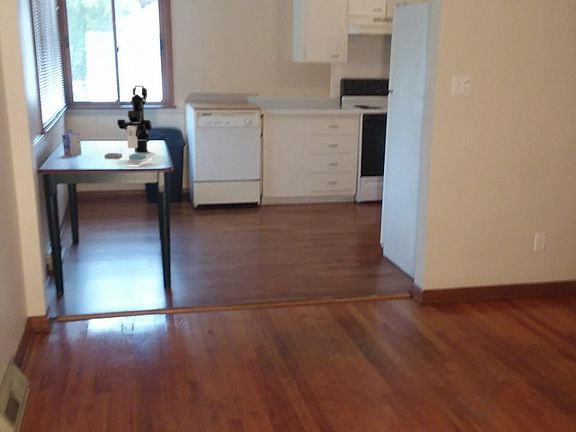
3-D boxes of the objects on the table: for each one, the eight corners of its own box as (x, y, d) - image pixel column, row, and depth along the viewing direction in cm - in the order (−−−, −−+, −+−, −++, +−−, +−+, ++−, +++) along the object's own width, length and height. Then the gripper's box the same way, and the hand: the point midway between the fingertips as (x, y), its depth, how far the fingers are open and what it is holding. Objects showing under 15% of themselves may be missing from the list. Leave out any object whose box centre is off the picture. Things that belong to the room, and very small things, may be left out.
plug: (129, 147, 351) (129, 125, 348) (137, 147, 350) (136, 126, 347) (127, 148, 346) (126, 126, 343) (135, 148, 346) (134, 126, 343)
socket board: (101, 160, 345) (100, 155, 345) (108, 157, 357) (108, 152, 356) (143, 161, 344) (143, 156, 344) (149, 158, 356) (149, 153, 355)
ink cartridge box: (74, 153, 370) (72, 129, 367) (81, 153, 369) (80, 129, 365) (63, 155, 361) (61, 130, 358) (71, 156, 360) (69, 131, 356)
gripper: (117, 104, 348) (111, 126, 340) (149, 105, 347) (145, 127, 339) (122, 117, 358) (117, 139, 350) (154, 118, 357) (149, 139, 349)
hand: (131, 136), depth 347 cm, fingers closed on plug, 4 cm apart
